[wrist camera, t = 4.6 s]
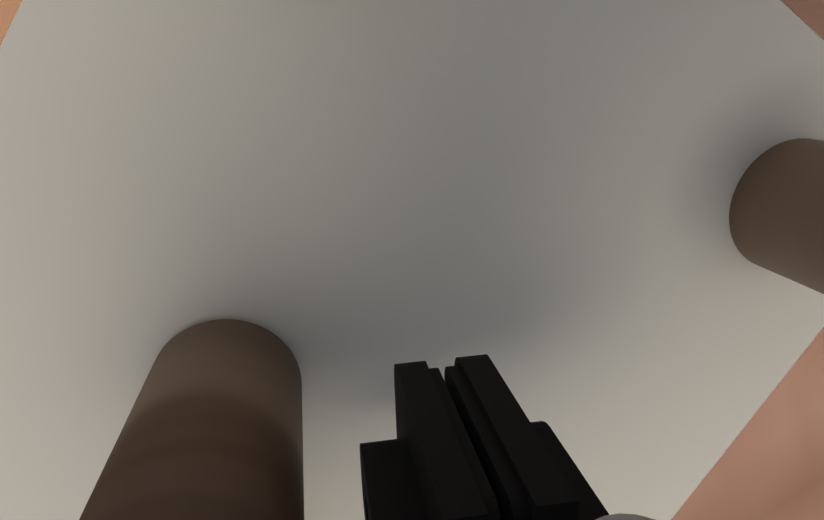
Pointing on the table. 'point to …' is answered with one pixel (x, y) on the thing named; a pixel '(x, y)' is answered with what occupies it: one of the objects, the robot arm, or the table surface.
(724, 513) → the table surface
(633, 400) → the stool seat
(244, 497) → the grey and brown lever
